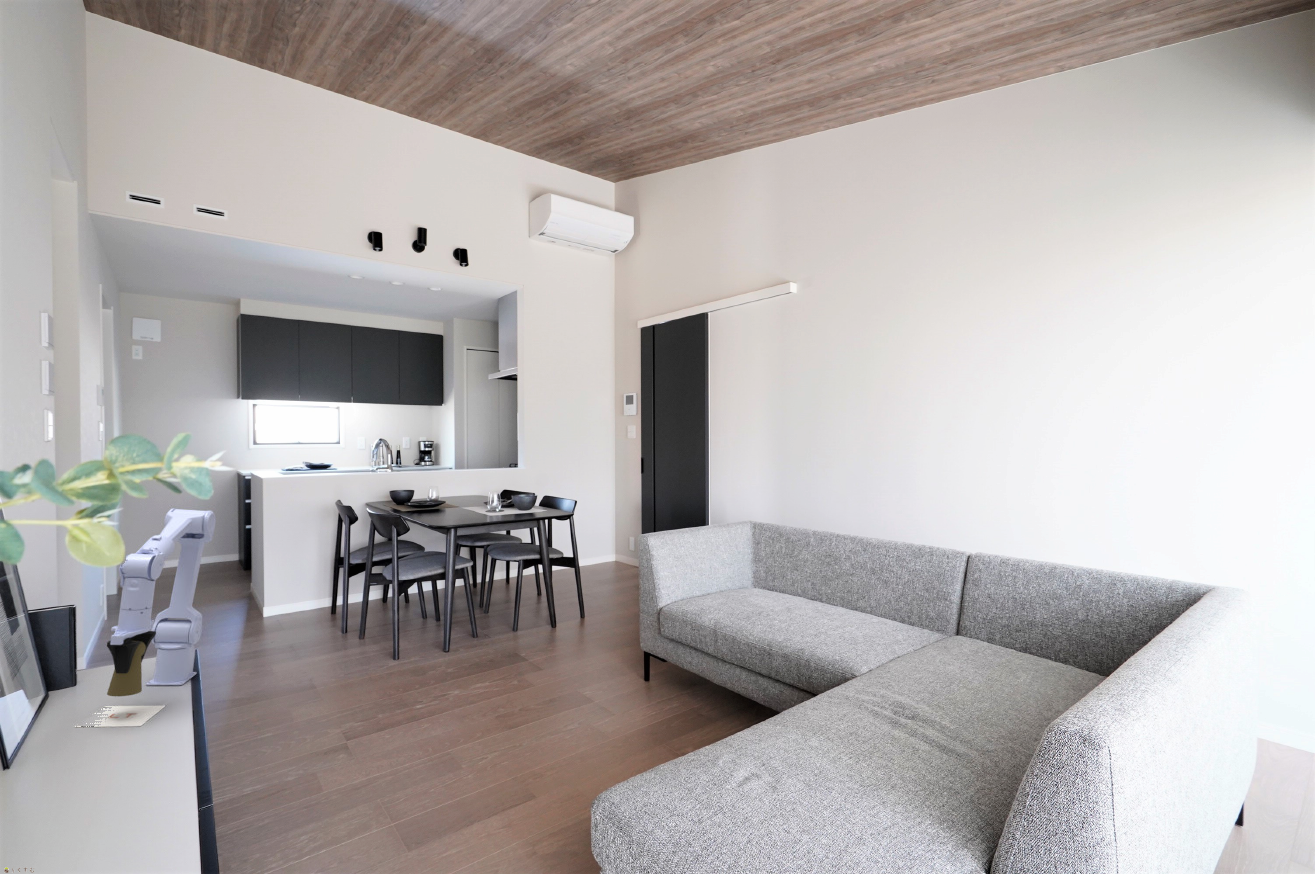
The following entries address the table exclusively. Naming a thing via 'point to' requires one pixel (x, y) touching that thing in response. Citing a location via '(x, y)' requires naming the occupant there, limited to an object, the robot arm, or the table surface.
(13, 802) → the table surface
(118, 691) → the olive knobbed shaker
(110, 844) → the table surface
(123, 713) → the card
